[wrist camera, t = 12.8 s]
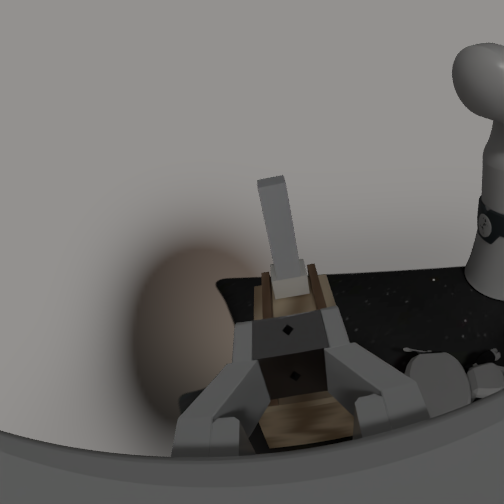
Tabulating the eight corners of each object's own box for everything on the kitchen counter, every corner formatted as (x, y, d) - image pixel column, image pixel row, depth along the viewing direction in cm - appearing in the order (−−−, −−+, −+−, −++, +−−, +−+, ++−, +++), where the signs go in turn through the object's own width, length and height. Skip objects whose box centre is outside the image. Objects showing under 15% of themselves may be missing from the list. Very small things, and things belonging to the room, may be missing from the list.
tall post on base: (305, 276, 44) (288, 171, 37) (309, 293, 41) (292, 181, 34) (273, 281, 45) (251, 178, 38) (275, 299, 41) (251, 189, 34)
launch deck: (330, 322, 48) (324, 261, 43) (357, 434, 31) (361, 378, 26) (266, 333, 49) (251, 274, 44) (269, 448, 32) (248, 396, 27)
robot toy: (491, 360, 34) (394, 367, 37) (502, 336, 31) (400, 344, 35) (512, 433, 23) (399, 450, 27) (529, 412, 21) (409, 431, 25)
